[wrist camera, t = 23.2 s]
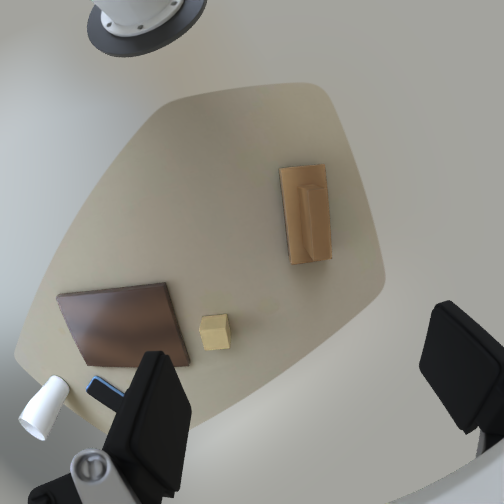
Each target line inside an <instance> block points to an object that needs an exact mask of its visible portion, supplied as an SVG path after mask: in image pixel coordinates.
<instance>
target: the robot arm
mask: <svg viewBox="0 0 504 504" xmlns="http://www.w3.org/2000/svg"><path fill="white" fill-rule="evenodd" d="M91 1H92V2H93V3H94V4H95V5H97V6H98V7H99V8H100V9H101V10H102V13H101V22H102V25H103V27H104V28H105V29H106V30H107V31H108V32H110V33H111V34H113V35H116V36H121V37H130V36H137V35H140V34H144V33H146V32H149V31H151V30H153V29H155V28H157V27H159V26H161V25H162V24H164V23H165V22H166V21H168V20H169V19H170V18H171V17H172V16H173V15H175V13H176V12H177V11H178V10H179V9H180V7H181V5H182V4H183V2H184V0H91ZM419 368H420V371H421V373H422V374H423V376H424V377H425V378H426V380H427V381H428V383H429V384H430V386H431V387H432V389H433V390H434V391H435V393H436V394H437V396H438V397H439V399H440V400H441V402H442V403H443V405H444V406H445V408H446V409H447V411H448V412H449V414H450V416H451V417H452V419H453V420H454V422H455V423H456V425H457V426H458V428H459V429H460V430H463V431H464V433H465V434H466V435H467V434H468V433H470V432H472V431H473V430H475V429H476V428H477V427H478V426H479V428H480V429H481V430H480V436H479V442H478V448H477V453H476V458H475V459H474V460H472V461H471V462H469V463H468V464H466V465H465V466H463V467H461V468H460V469H458V470H456V471H455V472H453V473H451V474H449V475H447V476H446V477H444V478H442V479H440V480H438V481H436V482H434V483H433V484H430V485H428V486H426V487H424V488H422V489H420V490H418V491H416V492H413V493H411V494H409V495H407V496H404V497H402V498H399V499H397V500H394V501H392V502H389V503H386V504H504V347H503V346H501V344H500V343H499V342H497V341H496V340H495V339H494V338H493V337H492V336H491V335H490V334H489V333H488V332H487V331H486V330H484V329H483V328H482V327H481V326H480V325H479V324H478V323H476V322H475V321H474V320H473V319H472V318H470V316H468V315H467V314H466V313H465V312H464V311H463V310H461V309H460V308H459V307H458V306H457V305H455V304H454V303H453V302H452V301H450V300H448V301H444V302H442V303H438V304H436V306H435V307H434V309H433V310H432V313H431V318H430V322H429V327H428V331H427V336H426V340H425V344H424V348H423V352H422V355H421V359H420V363H419ZM191 414H192V410H191V405H190V403H189V401H188V399H187V396H186V394H185V392H184V390H183V387H182V385H181V383H180V380H179V378H178V375H177V373H176V371H175V368H174V366H173V363H172V361H171V358H170V356H169V355H165V354H164V352H163V351H146V352H145V353H144V355H143V358H142V360H141V362H140V364H139V366H138V369H137V371H136V373H135V375H134V378H133V380H132V382H131V385H130V387H129V388H128V389H127V391H126V392H125V394H124V397H123V399H122V401H121V404H120V406H119V408H118V411H117V413H116V416H115V418H114V420H113V423H112V425H111V428H110V430H109V433H108V435H107V438H106V441H105V443H104V446H103V448H102V450H100V449H97V448H88V449H85V450H83V451H81V452H79V453H78V454H77V455H76V456H75V457H74V458H73V460H72V462H71V467H70V469H71V473H69V474H67V475H64V476H62V477H60V478H58V479H55V480H53V481H50V482H48V483H45V484H43V485H40V486H38V487H36V488H34V489H33V490H32V491H31V492H30V495H29V497H28V504H161V501H162V497H170V498H174V493H175V492H176V491H177V492H178V491H179V489H180V484H181V477H182V470H183V464H184V457H185V451H186V444H187V438H188V432H189V426H190V420H191Z"/></svg>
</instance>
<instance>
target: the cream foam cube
mask: <svg viewBox="0 0 504 504" xmlns="http://www.w3.org/2000/svg"><path fill="white" fill-rule="evenodd" d="M199 331H200V335H201V338H202V342H203V345H204V349H205V351H207V350H218V349H229V348H230V343H231V331H230V326H229V322H228V317H227V314H221V315H212V316H203V317H202V321H201V325H200V329H199Z"/></svg>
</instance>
